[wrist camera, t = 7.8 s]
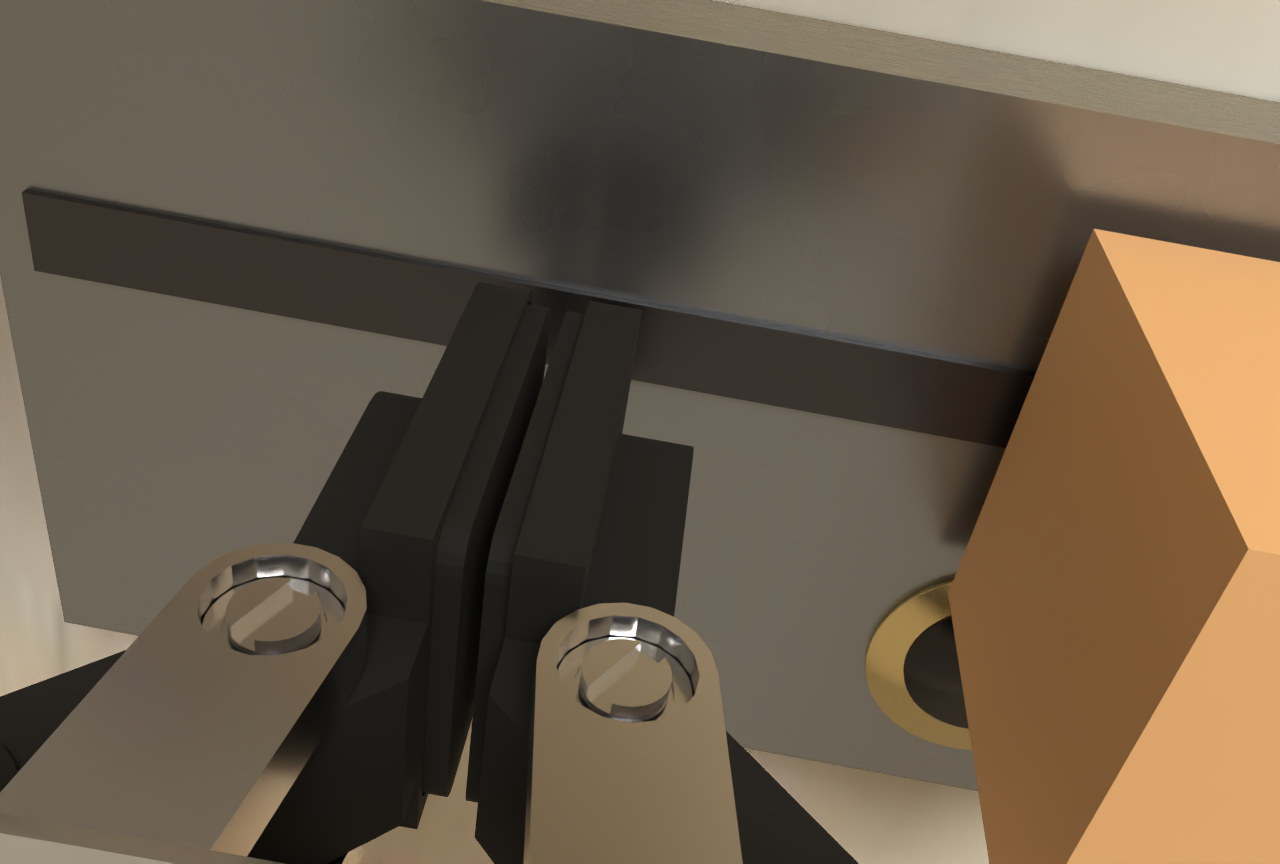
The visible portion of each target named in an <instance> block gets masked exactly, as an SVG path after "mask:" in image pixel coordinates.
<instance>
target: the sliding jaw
mask: <svg viewBox="0 0 1280 864" xmlns="http://www.w3.org/2000/svg"><path fill="white" fill-rule="evenodd" d="M948 596H949V603H950V609H951V616H952V622H953V629H954V635H955V642H956V648H957V655H958V661H959V668H960V674H961V681H962V687H963V694H964V700H965V707H966V714H967V720H968V727H969V733H970V740H971V746H972V753H973V759H974V766H975V772H976V779H977V785H978V792H979V798H980V805H981V811H982V818H983V824H984V831H985V837H986V844H987V850H988V857H989V863H990V864H1280V262H1276V261H1270V260H1265V259H1259V258H1254V257H1248V256H1243V255H1237V254H1231V253H1226V252H1220V251H1215V250H1209V249H1204V248H1198V247H1193V246H1187V245H1182V244H1176V243H1171V242H1165V241H1160V240H1154V239H1149V238H1143V237H1138V236H1132V235H1126V234H1121V233H1115V232H1110V231H1104V230H1099V229H1093V231H1092V234H1091V236H1090V239H1089V241H1088V244H1087V246H1086V249H1085V251H1084V254H1083V256H1082V259H1081V261H1080V264H1079V266H1078V269H1077V271H1076V274H1075V276H1074V279H1073V281H1072V284H1071V286H1070V289H1069V291H1068V294H1067V296H1066V299H1065V301H1064V304H1063V306H1062V309H1061V311H1060V314H1059V316H1058V319H1057V321H1056V324H1055V326H1054V329H1053V331H1052V334H1051V337H1050V339H1049V342H1048V344H1047V347H1046V349H1045V352H1044V354H1043V357H1042V359H1041V362H1040V364H1039V367H1038V369H1037V372H1036V374H1035V377H1034V379H1033V382H1032V384H1031V387H1030V389H1029V392H1028V394H1027V397H1026V399H1025V402H1024V404H1023V407H1022V409H1021V412H1020V414H1019V417H1018V419H1017V422H1016V424H1015V427H1014V429H1013V432H1012V434H1011V437H1010V439H1009V442H1008V445H1007V447H1006V450H1005V452H1004V455H1003V457H1002V460H1001V462H1000V465H999V467H998V470H997V472H996V475H995V477H994V480H993V482H992V485H991V487H990V490H989V492H988V495H987V497H986V500H985V502H984V505H983V507H982V510H981V512H980V515H979V517H978V520H977V522H976V525H975V527H974V530H973V532H972V535H971V537H970V540H969V542H968V545H967V547H966V550H965V552H964V555H963V558H962V560H961V563H960V565H959V568H958V570H957V573H956V575H955V578H954V580H953V583H952V585H951V588H950V590H949V593H948Z"/></svg>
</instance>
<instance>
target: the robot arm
mask: <svg viewBox="0 0 1280 864" xmlns="http://www.w3.org/2000/svg"><path fill="white" fill-rule="evenodd" d="M641 315H642V310H638V309H632V308H626V307H621V306H615V305H609V304H604V303H598V302H592V301H589V304H588V307H587V310H586V313H585V314H580V313H574V312H568V311H567V312H566V313H565V316H564V319H563V322H562V325H561V328H560V331H559V334H558V338H557V341H556V344H555V347H554V350H553V353H552V356H551V359H550V362H549V365H548V368H547V371H546V374H545V377H544V372H545V363H546V354H547V345H548V337H549V328H550V317H551V310H550V308H546V307H540V306H534V305H533V292H532V291H530V290H525V289H519V288H513V287H508V286H502V285H496V284H491V283H485V282H478V283H477V285H476V286H475V288H474V291H473V293H472V295H471V297H470V299H469V301H468V303H467V305H466V307H465V309H464V312H463V314H462V316H461V318H460V320H459V322H458V324H457V326H456V328H455V331H454V333H453V335H452V337H451V339H450V341H449V343H448V345H447V347H446V349H445V352H444V354H443V356H442V358H441V360H440V362H439V364H438V366H437V368H436V371H435V373H434V375H433V377H432V379H431V381H430V383H429V385H428V387H427V389H426V392H425V394H424V396H423V398H418V397H412V396H407V395H401V394H395V393H390V392H384V391H379V392H377V393H375V395H374V396H373V397H372V399H371V400H370V402H369V404H368V406H367V407H366V409H365V411H364V413H363V415H362V417H361V419H360V420H359V422H358V424H357V426H356V428H355V430H354V431H353V433H352V435H351V437H350V439H349V441H348V443H347V444H346V446H345V448H344V450H343V452H342V454H341V456H340V457H339V459H338V461H337V463H336V465H335V467H334V468H333V470H332V472H331V474H330V476H329V478H328V480H327V481H326V483H325V485H324V487H323V489H322V491H321V493H320V494H319V496H318V498H317V500H316V502H315V504H314V505H313V507H312V509H311V511H310V513H309V515H308V517H307V518H306V520H305V522H304V524H303V526H302V528H301V530H300V531H299V533H298V535H297V537H296V539H295V541H294V542H293V543H271V544H259V545H255V546H250V547H246V548H242V549H238V550H234V551H232V552H230V553H228V554H225V555H223V556H221V557H219V558H217V559H215V560H213V561H211V562H209V563H208V564H207V565H205V566H204V567H203V568H202V569H201V570H200V571H198V572H197V573H196V574H195V575H194V576H192V577H191V578H190V579H189V580H188V581H187V583H186V584H185V585H184V586H183V587H182V588H181V589H180V590H179V592H178V593H177V594H176V595H175V596H174V597H173V598H172V599H171V601H170V602H169V603H168V604H167V605H166V606H165V607H164V608H163V610H162V611H161V612H160V613H159V614H158V615H157V616H156V617H155V619H154V620H153V621H152V622H151V623H150V624H149V625H148V626H147V628H146V629H145V630H144V631H143V632H142V633H141V634H140V636H139V637H138V638H137V639H136V640H135V641H134V642H133V643H132V645H131V646H130V647H129V648H128V649H127V650H125V651H122V652H120V653H117V654H114V655H112V656H109V657H106V658H104V659H101V660H98V661H95V662H93V663H90V664H87V665H85V666H82V667H79V668H77V669H74V670H71V671H69V672H66V673H63V674H60V675H58V676H55V677H52V678H50V679H47V680H44V681H42V682H39V683H36V684H33V685H31V686H28V687H25V688H23V689H20V690H17V691H15V692H12V693H9V694H7V695H4V696H1V697H0V864H361V862H362V859H363V856H364V844H365V843H367V842H369V841H371V840H373V839H375V838H377V837H379V836H380V835H382V834H384V833H386V832H388V831H390V830H392V829H394V828H396V827H398V826H402V827H408V828H413V829H417V828H418V825H419V822H420V818H421V815H422V812H423V809H424V805H425V802H426V799H427V796H428V794H434V795H439V796H445V797H448V796H449V794H450V791H451V788H452V785H453V782H454V779H455V775H456V772H457V768H458V765H459V762H460V758H461V755H462V751H463V748H464V744H465V741H466V738H467V734H468V731H469V727H470V724H471V720H472V717H473V720H472V732H471V743H470V754H469V765H468V776H467V788H466V800H467V801H473V802H478V810H477V820H476V830H475V838H476V840H477V841H478V842H479V844H480V845H481V846H482V848H483V849H484V850H485V852H486V853H487V854H488V856H489V857H490V858H491V860H492V861H493V862H494V864H858V863H857V862H856V861H855V860H854V859H853V858H852V857H851V856H850V855H849V854H848V853H847V852H846V851H845V850H844V849H843V848H842V847H841V846H840V845H839V844H838V843H837V841H836V840H835V839H834V838H833V837H832V836H831V835H830V834H829V833H828V832H827V831H826V830H825V829H824V828H823V827H822V826H821V825H820V824H819V823H818V822H817V821H816V820H815V819H814V818H813V817H812V816H811V815H810V814H809V813H808V812H807V811H806V810H805V809H804V808H803V807H802V806H801V805H800V804H799V803H798V802H797V801H796V800H795V799H794V798H793V797H792V796H791V795H790V794H789V793H788V792H787V791H786V790H785V789H784V788H783V787H782V786H781V785H780V784H779V783H778V782H777V781H776V780H775V779H774V778H773V777H772V776H771V775H770V774H769V773H768V772H767V771H766V770H765V769H764V768H763V767H762V766H761V765H760V764H759V763H758V762H757V761H756V760H755V759H754V758H753V757H752V756H751V755H750V754H749V753H748V752H747V751H746V750H745V749H744V748H743V747H742V746H741V745H740V744H739V743H738V742H737V741H736V740H735V739H734V738H733V737H732V736H731V735H730V734H729V733H728V732H727V731H726V730H725V722H724V714H723V706H722V699H721V691H720V683H719V675H718V671H717V668H716V665H715V662H714V659H713V656H712V653H711V651H710V649H709V648H708V647H707V646H706V644H705V643H704V642H703V640H702V639H701V638H700V637H699V635H698V634H697V633H696V632H695V631H693V630H692V629H691V628H689V627H688V626H687V625H685V624H684V623H683V622H681V621H680V620H679V619H677V618H675V617H674V614H675V605H676V597H677V588H678V580H679V571H680V563H681V554H682V546H683V538H684V529H685V521H686V512H687V504H688V495H689V487H690V478H691V470H692V462H693V452H694V447H693V446H688V445H682V444H677V443H671V442H665V441H660V440H654V439H648V438H643V437H637V436H632V435H626V434H622V433H623V426H624V420H625V414H626V408H627V402H628V396H629V390H630V383H631V377H632V371H633V365H634V359H635V353H636V347H637V340H638V334H639V328H640V322H641Z"/></svg>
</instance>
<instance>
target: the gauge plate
mask: <svg viewBox="0 0 1280 864" xmlns="http://www.w3.org/2000/svg"><path fill="white" fill-rule="evenodd" d="M1093 229H1099V230H1104V231H1110V232H1115V233H1121V234H1126V235H1132V236H1138V237H1143V238H1149V239H1154V240H1160V241H1165V242H1171V243H1176V244H1182V245H1187V246H1193V247H1198V248H1204V249H1209V250H1215V251H1220V252H1226V253H1231V254H1237V255H1243V256H1248V257H1254V258H1259V259H1265V260H1270V261H1276V262H1280V103H1279V102H1273V101H1268V100H1262V99H1257V98H1251V97H1246V96H1240V95H1234V94H1229V93H1223V92H1218V91H1212V90H1207V89H1201V88H1195V87H1190V86H1184V85H1179V84H1173V83H1168V82H1162V81H1157V80H1151V79H1145V78H1140V77H1134V76H1129V75H1123V74H1118V73H1112V72H1107V71H1101V70H1095V69H1090V68H1084V67H1079V66H1073V65H1068V64H1062V63H1056V62H1051V61H1045V60H1040V59H1034V58H1029V57H1023V56H1018V55H1012V54H1006V53H1001V52H995V51H990V50H984V49H979V48H973V47H968V46H962V45H956V44H951V43H945V42H940V41H934V40H929V39H923V38H917V37H912V36H906V35H901V34H895V33H890V32H884V31H879V30H873V29H867V28H862V27H856V26H851V25H845V24H840V23H834V22H829V21H823V20H817V19H812V18H806V17H801V16H795V15H790V14H784V13H778V12H773V11H767V10H762V9H756V8H751V7H745V6H740V5H734V4H728V3H723V2H717V1H712V0H0V275H1V280H2V286H3V291H4V297H5V302H6V307H7V313H8V318H9V324H10V329H11V334H12V340H13V345H14V351H15V356H16V362H17V367H18V372H19V378H20V383H21V389H22V394H23V399H24V405H25V410H26V416H27V421H28V426H29V432H30V437H31V443H32V448H33V453H34V459H35V464H36V470H37V475H38V480H39V486H40V491H41V497H42V502H43V507H44V513H45V518H46V524H47V529H48V534H49V540H50V545H51V551H52V556H53V561H54V567H55V572H56V578H57V583H58V588H59V594H60V599H61V605H62V610H63V615H64V621H65V622H67V623H73V624H78V625H84V626H89V627H94V628H100V629H105V630H111V631H116V632H122V633H127V634H132V635H138V636H140V634H141V633H142V632H143V631H144V630H145V629H146V628H147V626H148V625H149V624H150V623H151V622H152V621H153V620H154V619H155V617H156V616H157V615H158V614H159V613H160V612H161V611H162V610H163V608H164V607H165V606H166V605H167V604H168V603H169V602H170V601H171V599H172V598H173V597H174V596H175V595H176V594H177V593H178V592H179V590H180V589H181V588H182V587H183V586H184V585H185V584H186V583H187V581H188V580H189V579H190V578H191V577H192V576H194V575H195V574H196V573H197V572H198V571H200V570H201V569H202V568H203V567H204V566H205V565H207V564H208V563H209V562H211V561H213V560H215V559H217V558H219V557H221V556H223V555H225V554H228V553H230V552H232V551H234V550H238V549H242V548H246V547H250V546H255V545H259V544H271V543H293V542H294V541H295V539H296V537H297V535H298V533H299V531H300V530H301V528H302V526H303V524H304V522H305V520H306V518H307V517H308V515H309V513H310V511H311V509H312V507H313V505H314V504H315V502H316V500H317V498H318V496H319V494H320V493H321V491H322V489H323V487H324V485H325V483H326V481H327V480H328V478H329V476H330V474H331V472H332V470H333V468H334V467H335V465H336V463H337V461H338V459H339V457H340V456H341V454H342V452H343V450H344V448H345V446H346V444H347V443H348V441H349V439H350V437H351V435H352V433H353V431H354V430H355V428H356V426H357V424H358V422H359V420H360V419H361V417H362V415H363V413H364V411H365V409H366V407H367V406H368V404H369V402H370V400H371V399H372V397H373V396H374V395H375V393H377V392H379V391H384V392H390V393H395V394H401V395H407V396H412V397H418V398H423V396H424V394H425V392H426V389H427V387H428V385H429V383H430V381H431V379H432V377H433V375H434V373H435V371H436V368H437V366H438V364H439V362H440V360H441V358H442V356H443V354H444V352H445V349H446V347H447V345H448V343H449V341H450V339H451V337H452V335H453V333H454V331H455V328H456V326H457V324H458V322H459V320H460V318H461V316H462V314H463V312H464V309H465V307H466V305H467V303H468V301H469V299H470V297H471V295H472V293H473V291H474V288H475V286H476V285H477V283H478V282H485V283H491V284H496V285H502V286H508V287H513V288H519V289H525V290H530V291H532V292H533V305H534V306H540V307H546V308H550V310H551V317H550V328H549V337H548V345H547V354H546V363H545V372H544V377H545V374H546V371H547V368H548V365H549V362H550V359H551V356H552V353H553V350H554V347H555V344H556V341H557V338H558V334H559V331H560V328H561V325H562V322H563V319H564V316H565V313H566V312H567V311H568V312H574V313H580V314H585V313H586V310H587V307H588V304H589V301H592V302H598V303H604V304H609V305H615V306H621V307H626V308H632V309H638V310H642V315H641V322H640V328H639V334H638V340H637V347H636V353H635V359H634V365H633V371H632V377H631V383H630V390H629V396H628V402H627V408H626V414H625V420H624V426H623V433H622V434H626V435H632V436H637V437H643V438H648V439H654V440H660V441H665V442H671V443H677V444H682V445H688V446H693V447H694V452H693V462H692V470H691V478H690V487H689V495H688V504H687V512H686V521H685V529H684V538H683V546H682V554H681V563H680V571H679V580H678V588H677V597H676V605H675V614H674V617H675V618H677V619H679V620H680V621H681V622H683V623H684V624H685V625H687V626H688V627H689V628H691V629H692V630H693V631H695V632H696V633H697V634H698V635H699V637H700V638H701V639H702V640H703V642H704V643H705V644H706V646H707V647H708V648H709V649H710V651H711V653H712V656H713V659H714V662H715V665H716V668H717V671H718V675H719V683H720V691H721V699H722V706H723V714H724V722H725V730H726V731H727V732H728V733H729V734H730V735H731V736H732V737H733V738H734V739H735V740H736V741H737V742H738V743H739V744H740V745H741V746H742V747H743V748H749V749H754V750H760V751H765V752H770V753H776V754H781V755H787V756H792V757H797V758H803V759H808V760H814V761H819V762H824V763H830V764H835V765H841V766H846V767H851V768H857V769H862V770H868V771H873V772H878V773H884V774H889V775H895V776H900V777H905V778H911V779H916V780H922V781H927V782H933V783H938V784H943V785H949V786H954V787H960V788H965V789H970V790H976V791H978V785H977V779H976V772H975V766H974V759H973V753H972V746H971V740H970V733H969V727H968V720H967V714H966V707H965V700H964V694H963V687H962V681H961V674H960V668H959V661H958V655H957V648H956V642H955V635H954V629H953V622H952V616H951V609H950V603H949V596H948V593H949V590H950V588H951V585H952V583H953V580H954V578H955V575H956V573H957V570H958V568H959V565H960V563H961V560H962V558H963V555H964V552H965V550H966V547H967V545H968V542H969V540H970V537H971V535H972V532H973V530H974V527H975V525H976V522H977V520H978V517H979V515H980V512H981V510H982V507H983V505H984V502H985V500H986V497H987V495H988V492H989V490H990V487H991V485H992V482H993V480H994V477H995V475H996V472H997V470H998V467H999V465H1000V462H1001V460H1002V457H1003V455H1004V452H1005V450H1006V447H1007V445H1008V442H1009V439H1010V437H1011V434H1012V432H1013V429H1014V427H1015V424H1016V422H1017V419H1018V417H1019V414H1020V412H1021V409H1022V407H1023V404H1024V402H1025V399H1026V397H1027V394H1028V392H1029V389H1030V387H1031V384H1032V382H1033V379H1034V377H1035V374H1036V372H1037V369H1038V367H1039V364H1040V362H1041V359H1042V357H1043V354H1044V352H1045V349H1046V347H1047V344H1048V342H1049V339H1050V337H1051V334H1052V331H1053V329H1054V326H1055V324H1056V321H1057V319H1058V316H1059V314H1060V311H1061V309H1062V306H1063V304H1064V301H1065V299H1066V296H1067V294H1068V291H1069V289H1070V286H1071V284H1072V281H1073V279H1074V276H1075V274H1076V271H1077V269H1078V266H1079V264H1080V261H1081V259H1082V256H1083V254H1084V251H1085V249H1086V246H1087V244H1088V241H1089V239H1090V236H1091V234H1092V231H1093Z"/></svg>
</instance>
